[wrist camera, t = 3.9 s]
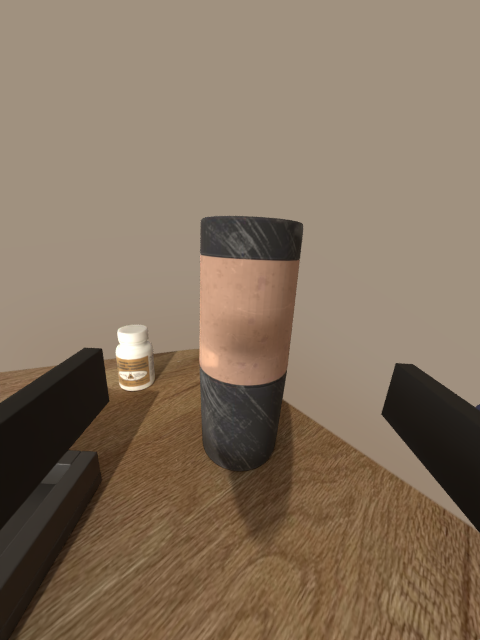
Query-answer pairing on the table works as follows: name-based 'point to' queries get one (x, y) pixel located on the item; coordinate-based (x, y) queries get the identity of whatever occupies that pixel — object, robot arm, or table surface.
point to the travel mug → (245, 333)
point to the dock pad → (42, 531)
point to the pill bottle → (134, 358)
